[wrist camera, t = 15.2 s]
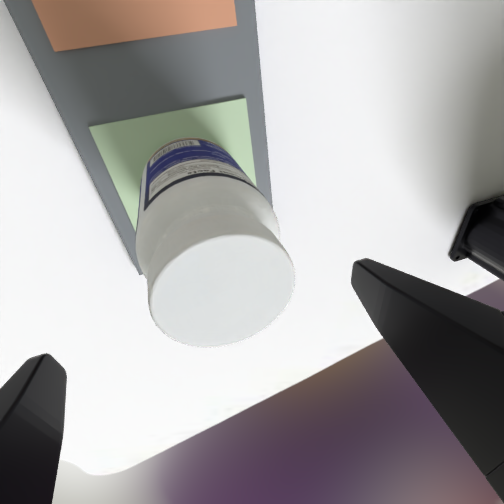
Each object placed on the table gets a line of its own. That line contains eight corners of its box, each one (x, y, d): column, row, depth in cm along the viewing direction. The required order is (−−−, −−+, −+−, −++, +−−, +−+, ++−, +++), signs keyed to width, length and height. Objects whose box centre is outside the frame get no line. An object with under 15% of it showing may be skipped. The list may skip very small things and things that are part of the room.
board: (272, 234, 21) (276, 240, 20) (140, 269, 20) (139, 276, 19) (213, -404, 8) (217, -444, 7) (-205, -441, 6) (-246, -496, 6)
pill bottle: (218, 237, 19) (261, 363, 11) (130, 211, 16) (104, 354, 8) (255, 158, 17) (344, 248, 9) (159, 114, 14) (162, 185, 6)
